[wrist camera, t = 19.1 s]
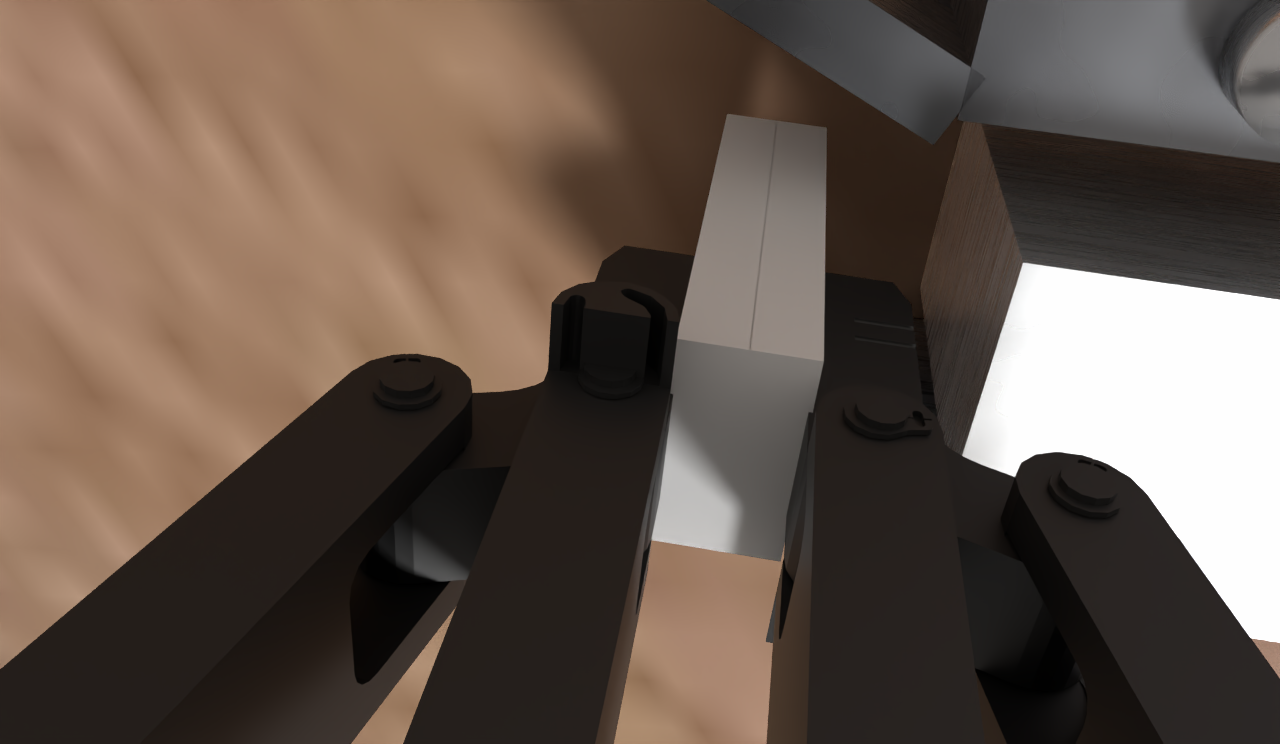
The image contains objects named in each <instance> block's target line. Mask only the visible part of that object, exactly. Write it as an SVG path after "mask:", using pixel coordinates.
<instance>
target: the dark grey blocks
mask: <svg viewBox="0 0 1280 744" xmlns="http://www.w3.org/2000/svg"><path fill="white" fill-rule="evenodd" d="M707 1H708V2H710V3H711V4H713V5H715V6H716V7H718V8H719V9H721V10H722V11H724V12H726V13H727V14H729V15H730V16H732V17H733V18H735V19H737V20H738V21H740V22H741V23H743V24H744V25H746V26H747V27H749V28H751V29H752V30H754V31H755V32H757V33H758V34H760V35H762V36H763V37H765V38H766V39H768V40H769V41H771V42H773V43H774V44H776V45H777V46H779V47H780V48H782V49H784V50H785V51H787V52H788V53H790V54H791V55H793V56H795V57H796V58H798V59H799V60H801V61H802V62H804V63H806V64H807V65H809V66H810V67H812V68H813V69H815V70H816V71H818V72H820V73H821V74H823V75H824V76H826V77H827V78H829V79H831V80H832V81H834V82H835V83H837V84H838V85H840V86H842V87H843V88H845V89H846V90H848V91H849V92H851V93H853V94H854V95H856V96H857V97H859V98H860V99H862V100H864V101H865V102H867V103H868V104H870V105H871V106H873V107H875V108H876V109H878V110H879V111H881V112H882V113H884V114H885V115H887V116H889V117H890V118H892V119H893V120H895V121H896V122H898V123H900V124H901V125H903V126H904V127H906V128H907V129H909V130H911V131H912V132H914V133H915V134H917V135H918V136H920V137H922V138H923V139H925V140H926V141H928V142H929V143H931V144H933V145H934V144H935V142H936V141H937V140H938V139H939V137H940V136H941V135H942V133H943V132H944V131H945V130H946V128H947V127H948V126H949V125H950V123H951V122H952V121H953V120H954V118H955V117H956V116H957V119H958V120H960V121H967V122H975V123H982V124H990V125H998V126H1005V127H1013V128H1020V129H1028V130H1035V131H1043V132H1051V133H1058V134H1066V135H1073V136H1081V137H1089V138H1096V139H1104V140H1111V141H1119V142H1126V143H1134V144H1142V145H1149V146H1157V147H1164V148H1172V149H1180V150H1187V151H1195V152H1202V153H1210V154H1217V155H1225V156H1233V157H1240V158H1248V159H1255V160H1263V161H1271V162H1278V163H1280V0H707ZM913 324H914V328H913V331H914V332H915V341H916V347H915V349H917V358H918V366H919V375H920V383H921V391H922V400H923V405H924V406H925V407H927V408H928V409H929V410H930V411H931V412H932V413H933V414H934V415H935V416H936V417H937V412H936V404H935V397H934V389H933V382H932V374H931V366H930V359H929V351H928V343H927V336H926V328H925V321H924V319H918V318H913ZM1179 539H1180V540H1181V542H1182V543H1183V544H1184V546H1185V547H1186V549H1187V550H1188V551H1189V553H1190V554H1191V556H1192V557H1193V558H1194V560H1195V561H1196V563H1197V564H1198V565H1199V567H1200V568H1201V569H1202V571H1203V572H1204V574H1205V575H1206V576H1207V578H1208V579H1209V581H1210V582H1211V583H1212V585H1213V586H1214V588H1215V589H1216V590H1217V592H1218V593H1219V595H1220V596H1221V597H1222V599H1223V600H1224V602H1225V603H1226V604H1227V606H1228V607H1229V609H1230V610H1231V611H1232V613H1233V614H1234V616H1235V617H1236V618H1237V620H1238V621H1239V622H1240V624H1241V625H1242V627H1243V628H1244V629H1245V631H1246V632H1247V634H1248V635H1249V636H1250V638H1255V639H1261V640H1267V641H1273V642H1279V643H1280V554H1276V553H1270V552H1264V551H1258V550H1251V549H1245V548H1239V547H1233V546H1227V545H1220V544H1214V543H1208V542H1202V541H1196V540H1189V539H1183V538H1179Z"/></svg>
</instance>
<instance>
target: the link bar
mask: <svg viewBox="0 0 1280 744" xmlns="http://www.w3.org/2000/svg"><path fill="white" fill-rule="evenodd" d="M920 290H921V298H922V305H923V313H924V321H925V328H926V336H927V343H928V351H929V359H930V366H931V374H932V382H933V389H934V397H935V404H936V412H937V419H938V421H939V423H940V426H941V428H942V430H943V435H944V443H945V445H947V446H948V447H949V448H951V449H952V450H954V451H955V452H957V453H959V454H960V455H962V456H963V457H965V458H968V459H970V460H972V461H974V462H977V463H979V464H981V465H984V466H986V467H989V468H992V469H995V470H997V471H1000V472H1003V473H1006V474H1008V475H1011V476H1014V477H1015V476H1016V473H1017V471H1018V469H1019V466H1020V464H1021V463H1022V462H1023V461H1025V460H1027V459H1028V458H1030V457H1032V456H1034V455H1035V454H1042V453H1050V452H1064V453H1071V454H1079V455H1084V456H1087V457H1091V458H1092V459H1095V460H1096V459H1097V460H1100V461H1102V462H1104V463H1107V464H1109V465H1111V466H1112V467H1114V468H1116V469H1117V470H1119V471H1121V472H1122V473H1124V474H1126V475H1127V476H1129V477H1131V478H1132V479H1133V480H1134V481H1135V482H1136V483H1137V484H1138V485H1139V486H1140V487H1141V488H1142V489H1143V490H1144V491H1145V492H1146V493H1147V494H1148V496H1149V497H1150V498H1151V500H1152V501H1153V503H1154V504H1155V505H1156V507H1157V508H1158V510H1159V511H1160V512H1161V514H1162V515H1163V516H1164V518H1165V519H1166V521H1167V522H1168V523H1169V525H1170V526H1171V528H1172V529H1173V530H1174V532H1175V533H1176V535H1177V536H1178V537H1179V538H1183V539H1189V540H1196V541H1202V542H1208V543H1214V544H1220V545H1227V546H1233V547H1239V548H1245V549H1251V550H1258V551H1264V552H1270V553H1276V554H1280V163H1278V162H1271V161H1263V160H1255V159H1248V158H1240V157H1233V156H1225V155H1217V154H1210V153H1202V152H1195V151H1187V150H1180V149H1172V148H1164V147H1157V146H1149V145H1142V144H1134V143H1126V142H1119V141H1111V140H1104V139H1096V138H1089V137H1081V136H1073V135H1066V134H1058V133H1051V132H1043V131H1035V130H1028V129H1020V128H1013V127H1005V126H998V125H990V124H982V123H975V122H967V121H963V124H962V128H961V132H960V136H959V140H958V144H957V147H956V151H955V155H954V159H953V163H952V167H951V170H950V174H949V178H948V182H947V186H946V190H945V193H944V197H943V201H942V205H941V209H940V212H939V216H938V220H937V224H936V228H935V232H934V235H933V239H932V243H931V247H930V251H929V255H928V258H927V262H926V266H925V270H924V274H923V278H922V281H921V285H920Z"/></svg>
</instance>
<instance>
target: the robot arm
mask: <svg viewBox="0 0 1280 744" xmlns="http://www.w3.org/2000/svg"><path fill="white" fill-rule="evenodd" d="M826 158H827V128H826V127H819V126H812V125H805V124H798V123H790V122H783V121H776V120H769V119H762V118H754V117H747V116H740V115H733V114H727V117H726V121H725V126H724V130H723V135H722V139H721V143H720V148H719V152H718V157H717V161H716V165H715V170H714V174H713V179H712V183H711V188H710V192H709V196H708V201H707V205H706V210H705V214H704V218H703V223H702V227H701V232H700V236H699V241H698V245H697V249H696V254H695V256H691V255H684V254H678V253H671V252H664V251H658V250H651V249H644V248H637V247H631V246H624V247H622V248H621V249H619V250H618V251H617V252H615V253H614V254H612V255H611V256H609V257H608V258H607V259H605V260H604V261H603V262H602V264H601V267H600V270H599V272H598V275H597V278H596V280H595V282H590V283H583V284H578V285H576V286H574V287H571V288H569V289H567V290H565V291H562V292H561V293H560V294H559V295H558V296H557V298H556V299H555V300H554V301H553V302H552V309H551V328H550V346H549V364H548V372H547V374H546V377H545V379H544V381H543V382H541V383H539V384H537V385H534V386H531V387H527V388H523V389H520V390H512V391H504V392H487V393H472V386H471V380H470V378H469V377H468V376H467V375H466V374H465V373H464V372H463V371H462V370H461V369H460V367H458V366H456V365H454V364H452V363H450V362H447V361H445V360H443V359H441V358H437V357H431V356H425V355H420V354H400V355H391V356H387V357H383V358H379V359H375V360H371V361H369V362H367V363H365V364H364V365H362V366H360V367H359V368H357V369H355V370H353V371H352V372H351V373H349V374H348V375H347V376H346V377H345V378H343V379H342V380H341V381H340V382H339V383H338V384H336V385H335V386H334V387H333V388H332V389H330V390H329V391H328V392H327V393H326V394H325V395H323V396H322V397H321V398H320V399H319V400H318V401H316V402H315V403H314V404H313V405H312V406H310V407H309V408H308V409H307V410H306V411H305V412H303V413H302V414H301V415H300V416H299V417H297V418H296V419H295V420H294V421H293V422H292V423H290V424H289V425H288V426H287V427H286V428H284V429H283V430H282V431H281V432H280V433H279V434H277V435H276V436H275V437H274V438H273V439H272V440H270V441H269V442H268V443H267V444H266V445H264V446H263V447H262V448H261V449H260V450H259V451H257V452H256V453H255V454H254V455H253V456H251V457H250V458H249V459H248V460H247V461H246V462H244V463H243V464H242V465H241V466H240V467H238V468H237V469H236V470H235V471H234V472H233V473H231V474H230V475H229V476H228V477H227V478H225V479H224V480H223V481H222V482H221V483H220V484H218V485H217V486H216V487H215V488H214V489H213V490H211V491H210V492H209V493H208V494H207V495H205V496H204V497H203V498H202V499H201V500H200V501H198V502H197V503H196V504H195V505H194V506H192V507H191V508H190V509H189V510H188V511H187V512H185V513H184V514H183V515H182V516H181V517H179V518H178V519H177V520H176V521H175V522H174V523H172V524H171V525H170V526H169V527H168V528H166V529H165V530H164V531H163V532H162V533H161V534H159V535H158V536H157V537H156V538H155V539H154V540H152V541H151V542H150V543H149V544H148V545H146V546H145V547H144V548H143V549H142V550H141V551H139V552H138V553H137V554H136V555H135V556H133V557H132V558H131V559H130V560H129V561H128V562H126V563H125V564H124V565H123V566H122V567H120V568H119V569H118V570H117V571H116V572H115V573H113V574H112V575H111V576H110V577H109V578H108V579H106V580H105V581H104V582H103V583H102V584H100V585H99V586H98V587H97V588H96V589H95V590H93V591H92V592H91V593H90V594H89V595H87V596H86V597H85V598H84V599H83V600H82V601H80V602H79V603H78V604H77V605H76V606H74V607H73V608H72V609H71V610H70V611H69V612H67V613H66V614H65V615H64V616H63V617H61V618H60V619H59V620H58V621H57V622H56V623H54V624H53V625H52V626H51V627H50V628H49V629H47V630H46V631H45V632H44V633H43V634H41V635H40V636H39V637H38V638H37V639H36V640H34V641H33V642H32V643H31V644H30V645H28V646H27V647H26V648H25V649H24V650H23V651H21V652H20V653H19V654H18V655H17V656H15V657H14V658H13V659H12V660H11V661H10V662H8V663H7V664H6V665H5V666H4V667H3V668H1V669H0V744H351V743H352V741H353V740H354V739H355V738H356V736H357V735H358V734H359V732H360V731H361V730H362V728H363V727H364V726H365V725H366V723H367V722H368V721H369V719H370V718H371V717H372V715H373V714H374V713H375V711H376V710H377V709H378V708H379V706H380V705H381V704H382V702H383V701H384V700H385V698H386V697H387V696H388V695H389V693H390V692H391V691H392V689H393V688H394V687H395V685H396V684H397V683H398V682H399V680H400V679H401V678H402V676H403V675H404V674H405V672H406V671H407V670H408V668H409V667H410V666H411V665H412V663H413V662H414V661H415V659H416V658H417V657H418V655H419V654H420V653H421V652H422V650H423V649H424V648H425V646H426V645H427V644H428V642H429V641H430V640H431V639H432V637H433V636H434V635H435V633H436V632H437V631H438V629H439V628H440V627H441V625H442V624H443V623H444V622H445V620H446V619H447V618H448V616H449V615H450V614H451V612H452V611H453V610H454V609H455V607H456V609H455V611H454V614H453V617H452V619H451V622H450V624H449V627H448V629H447V632H446V635H445V637H444V640H443V642H442V645H441V648H440V650H439V653H438V655H437V658H436V660H435V663H434V666H433V668H432V671H431V673H430V676H429V678H428V681H427V684H426V686H425V689H424V691H423V694H422V696H421V699H420V702H419V704H418V707H417V709H416V712H415V715H414V717H413V720H412V722H411V725H410V727H409V730H408V733H407V735H406V738H405V740H404V743H403V744H614V739H615V734H616V729H617V724H618V719H619V714H620V708H621V703H622V698H623V693H624V688H625V683H626V678H627V673H628V668H629V663H630V658H631V652H632V647H633V642H634V637H635V632H636V627H637V622H638V617H639V612H640V607H641V602H642V597H643V591H644V586H645V581H646V576H647V571H648V563H649V555H650V547H651V540H655V541H661V542H667V543H673V544H679V545H685V546H691V547H697V548H703V549H709V550H715V551H721V552H727V553H733V554H739V555H745V556H751V557H757V558H763V559H769V560H775V561H781V557H782V552H783V548H784V543H785V550H784V560H783V564H782V569H781V574H780V578H779V583H778V587H777V592H776V597H775V601H774V606H773V610H772V615H771V619H770V624H769V629H768V633H767V638H766V642H770V643H773V652H772V668H771V684H770V699H769V715H768V730H767V744H1280V678H1279V677H1278V675H1277V674H1276V673H1275V671H1274V670H1273V669H1272V667H1271V666H1270V664H1269V663H1268V662H1267V660H1266V659H1265V657H1264V656H1263V655H1262V653H1261V652H1260V650H1259V649H1258V648H1257V646H1256V645H1255V643H1254V642H1253V641H1252V639H1251V638H1250V636H1249V635H1248V634H1247V632H1246V631H1245V629H1244V628H1243V627H1242V625H1241V624H1240V622H1239V621H1238V620H1237V618H1236V617H1235V616H1234V614H1233V613H1232V611H1231V610H1230V609H1229V607H1228V606H1227V604H1226V603H1225V602H1224V600H1223V599H1222V597H1221V596H1220V595H1219V593H1218V592H1217V590H1216V589H1215V588H1214V586H1213V585H1212V583H1211V582H1210V581H1209V579H1208V578H1207V576H1206V575H1205V574H1204V572H1203V571H1202V569H1201V568H1200V567H1199V565H1198V564H1197V563H1196V561H1195V560H1194V558H1193V557H1192V556H1191V554H1190V553H1189V551H1188V550H1187V549H1186V547H1185V546H1184V544H1183V543H1182V542H1181V540H1180V539H1179V537H1178V536H1177V535H1176V533H1175V532H1174V530H1173V529H1172V528H1171V526H1170V525H1169V523H1168V522H1167V521H1166V519H1165V518H1164V516H1163V515H1162V514H1161V512H1160V511H1159V510H1158V508H1157V507H1156V505H1155V504H1154V503H1153V501H1152V500H1151V498H1150V497H1149V496H1148V494H1147V493H1146V492H1145V491H1144V490H1143V489H1142V488H1141V487H1140V486H1139V485H1138V484H1137V483H1136V482H1135V481H1134V480H1133V479H1132V478H1131V477H1129V476H1127V475H1126V474H1124V473H1122V472H1121V471H1119V470H1117V469H1116V468H1114V467H1112V466H1111V465H1109V464H1107V463H1104V462H1102V461H1100V460H1097V459H1096V460H1095V459H1092V458H1091V457H1087V456H1084V455H1079V454H1071V453H1064V452H1050V453H1042V454H1035V455H1034V456H1032V457H1030V458H1028V459H1027V460H1025V461H1023V462H1022V463H1021V464H1020V466H1019V469H1018V471H1017V473H1016V476H1015V477H1014V476H1011V475H1008V474H1006V473H1003V472H1000V471H997V470H995V469H992V468H989V467H986V466H984V465H981V464H979V463H977V462H974V461H972V460H970V459H968V458H965V457H963V456H962V455H960V454H959V453H957V452H955V451H954V450H952V449H951V448H949V447H948V446H947V445H945V443H944V435H943V430H942V428H941V426H940V423H939V421H938V419H937V417H936V416H935V415H934V414H933V413H932V412H931V411H930V410H929V409H928V408H927V407H925V406H924V405H923V400H922V391H921V383H920V375H919V366H918V358H917V349H915V347H916V341H915V332H914V331H913V328H914V324H913V315H912V307H911V304H910V302H909V301H908V300H907V299H906V298H905V296H904V295H903V294H902V293H901V292H900V290H899V289H898V288H897V287H896V286H895V284H894V283H893V282H886V281H879V280H873V279H866V278H859V277H852V276H846V275H839V274H832V273H825V234H826Z"/></svg>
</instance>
